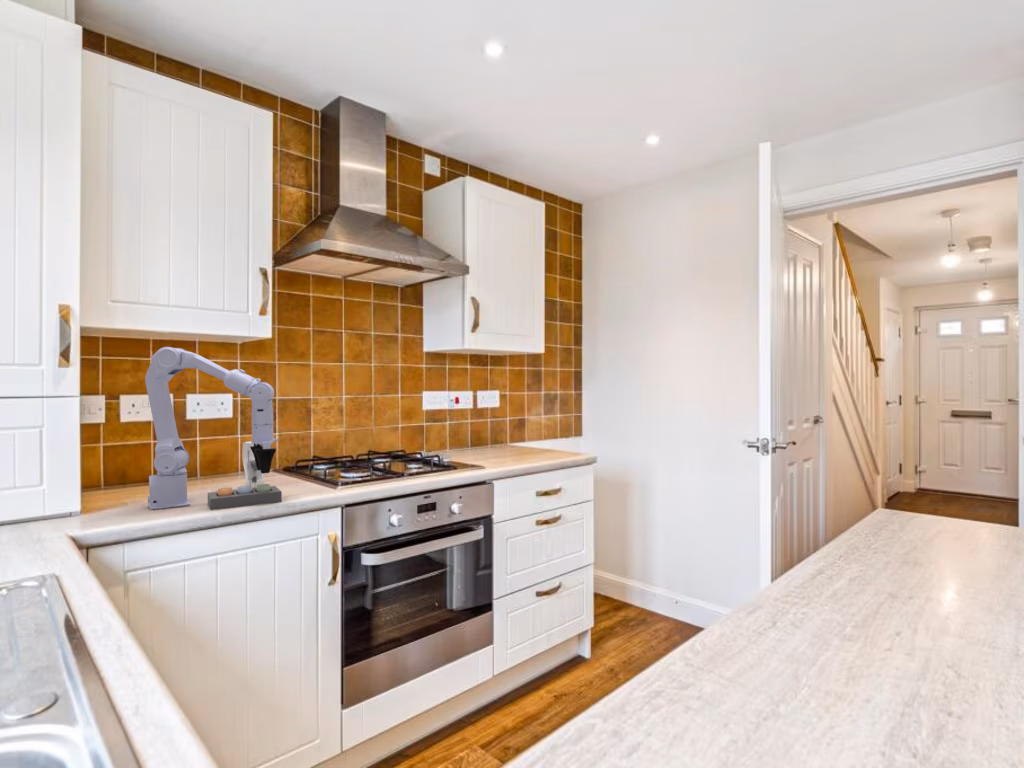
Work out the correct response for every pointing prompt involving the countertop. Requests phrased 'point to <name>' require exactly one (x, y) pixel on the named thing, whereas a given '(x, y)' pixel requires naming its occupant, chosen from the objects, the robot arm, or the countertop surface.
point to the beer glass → (251, 466)
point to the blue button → (244, 489)
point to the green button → (263, 487)
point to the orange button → (224, 491)
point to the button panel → (244, 498)
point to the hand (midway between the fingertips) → (263, 471)
